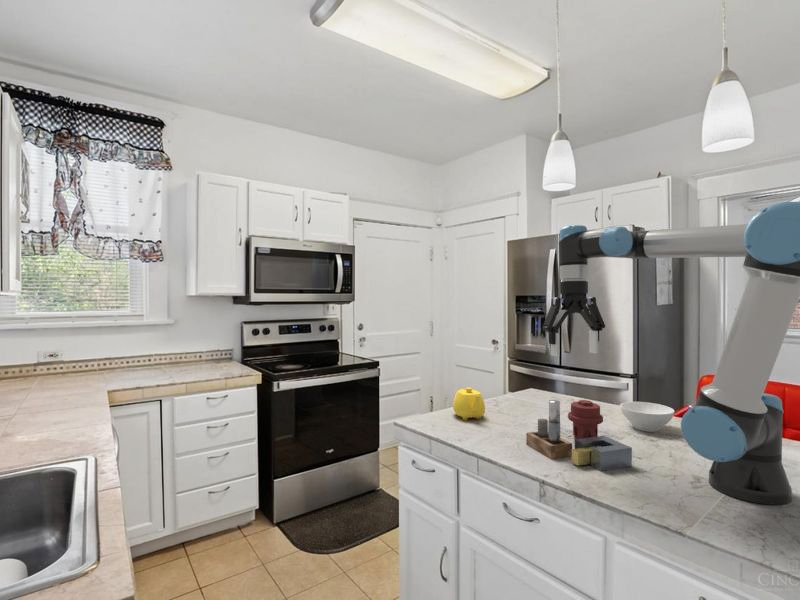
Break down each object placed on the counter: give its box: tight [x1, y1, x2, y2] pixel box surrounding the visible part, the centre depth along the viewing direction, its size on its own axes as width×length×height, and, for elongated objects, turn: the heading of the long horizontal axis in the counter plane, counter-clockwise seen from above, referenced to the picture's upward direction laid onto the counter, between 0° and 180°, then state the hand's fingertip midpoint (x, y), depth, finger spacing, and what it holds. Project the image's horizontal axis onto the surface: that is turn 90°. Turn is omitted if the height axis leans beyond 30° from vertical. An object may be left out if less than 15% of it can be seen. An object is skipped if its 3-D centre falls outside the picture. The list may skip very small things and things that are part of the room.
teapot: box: [452, 387, 486, 421], centre depth 162 cm, size 18×11×11 cm, turn 13°
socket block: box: [574, 435, 633, 472], centre depth 120 cm, size 10×10×5 cm
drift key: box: [571, 447, 591, 466], centre depth 118 cm, size 2×7×4 cm, turn 107°
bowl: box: [619, 401, 675, 433], centre depth 148 cm, size 16×16×7 cm
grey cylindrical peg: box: [548, 399, 561, 445], centre depth 126 cm, size 3×3×15 cm
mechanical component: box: [567, 399, 604, 440], centre depth 136 cm, size 12×10×10 cm
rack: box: [525, 418, 573, 460], centre depth 128 cm, size 12×7×8 cm, turn 17°
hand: (574, 354), depth 126 cm, fingers open, 13 cm apart
